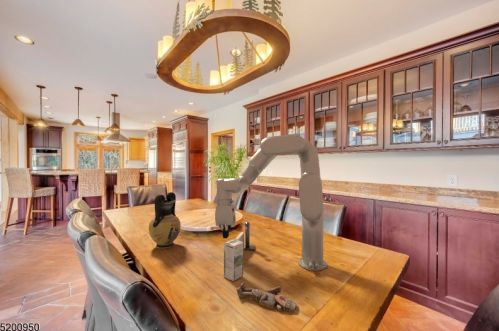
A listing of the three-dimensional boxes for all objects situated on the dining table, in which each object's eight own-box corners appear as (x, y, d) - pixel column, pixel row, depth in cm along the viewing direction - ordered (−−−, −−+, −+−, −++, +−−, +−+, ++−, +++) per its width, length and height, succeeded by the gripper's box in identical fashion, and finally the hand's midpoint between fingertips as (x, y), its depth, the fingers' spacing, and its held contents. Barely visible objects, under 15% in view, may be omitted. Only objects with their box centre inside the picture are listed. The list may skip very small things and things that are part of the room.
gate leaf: (244, 246, 125) (244, 232, 125) (234, 261, 107) (233, 244, 107) (241, 246, 125) (241, 231, 125) (230, 260, 107) (229, 243, 107)
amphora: (170, 253, 118) (169, 195, 117) (141, 250, 121) (141, 195, 121) (186, 241, 135) (185, 191, 135) (160, 239, 139) (160, 190, 138)
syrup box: (233, 272, 97) (233, 238, 97) (243, 276, 94) (243, 241, 93) (223, 277, 93) (223, 242, 93) (234, 282, 89) (233, 245, 89)
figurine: (244, 276, 84) (298, 290, 75) (244, 289, 84) (298, 305, 76) (235, 286, 77) (293, 303, 69) (235, 300, 78) (293, 319, 70)
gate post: (253, 250, 121) (253, 223, 120) (244, 250, 122) (243, 223, 121) (255, 247, 125) (255, 221, 125) (245, 246, 126) (245, 220, 126)
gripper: (240, 201, 117) (242, 236, 117) (215, 200, 123) (216, 234, 123) (234, 203, 110) (236, 241, 110) (208, 203, 116) (209, 238, 116)
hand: (225, 237), depth 117 cm, fingers closed
